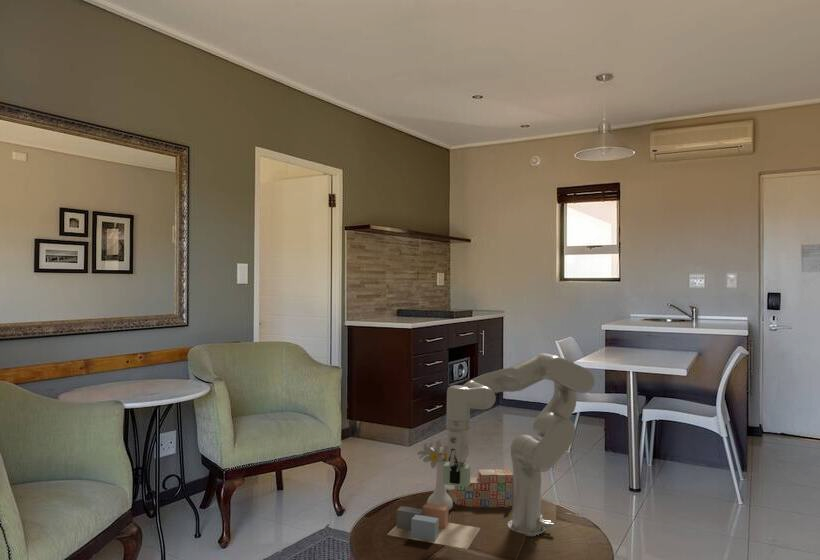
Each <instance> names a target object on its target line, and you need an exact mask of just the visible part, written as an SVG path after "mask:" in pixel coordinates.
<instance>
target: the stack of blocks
mask: <svg viewBox="0 0 820 560" xmlns="http://www.w3.org/2000/svg"><path fill="white" fill-rule="evenodd" d="M477 474H478V475H477V477H470V484H469V486H468V487H461V486H454V491H453V493H454V494H453V495H454V496H453V499H454V505H456V506H463V507H468V508H507V507H506V506H512V495H513V471H511V470H510V469H501V468H500V469H496V468H494V469H478V471H477ZM502 506H503V507H502ZM504 506H505V507H504Z"/></svg>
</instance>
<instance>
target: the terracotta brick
mask: <svg viewBox="0 0 820 560" xmlns="http://www.w3.org/2000/svg"><path fill="white" fill-rule="evenodd" d="M422 509H423V516H428V517H434V518H439V528H446V526H447V525H448V523H449V511H450V510H449V506H443V505H437V504H430V503H427V502H425V504H424V505H423V506H422Z"/></svg>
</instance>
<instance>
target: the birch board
mask: <svg viewBox="0 0 820 560" xmlns="http://www.w3.org/2000/svg"><path fill="white" fill-rule="evenodd" d="M480 530H481V527H476V526H471V525H465V524H460V523H458V524H457V523H452V522H448V525H447V526H446V528H439V537H438V538H437V539H436V541H435V542H433V541H428V540H422V539H416V538H411V530H405V529H399V528H397V524H396V525H395V526H394V527H393V528H392V529H391V530H390V531H389V532H388V533H387V534H386V535H387V536H392V537H398V538H402V539H409V540H413V541H414V540H415V541H420V542H425V543H431V544H436V545H442V546H447V547H453V548H460V549H465V550H469V547H470V545H472V543H473V541H474V540H475V537H477V535H478V533H479V531H480Z"/></svg>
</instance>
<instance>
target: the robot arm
mask: <svg viewBox="0 0 820 560" xmlns="http://www.w3.org/2000/svg"><path fill="white" fill-rule="evenodd" d="M544 380H548V381H552V382H553V386H554V387H553V388H554V390H553V391H554V392H553V395H552V397H551V398H550V400H549V401H548V403H547V404H546V405H545V407H543V409H542V410H541V412H540V413H539V414H538V415H537V417H535V419H534V421H533V423H532V430H533V432H534V434H535V435H537V437H539V438H541V439H539V438H537V437H534V436H532V435H529V434H519V435H517V436H516V437H515V438H514V439H512V442H511V445H510V458H511V462H512V463H511V465H512V474H513V495H512V507H511V508H512V509H511V520H510V519H509V521H507V527H508V528H509V529H510V530H511V531H513V532H515V533H519V534H524V535H525V537H537V536H536V535H538V536H540V535H539V534H541V533H543V532H544V531H545V532H546V529H550V530H554V529H555V523H554V522H552V520H550V519H549V520H548V519H545V518H543V514H541V511H542V509H541V507H542V506H541V505H542V473H546V472H549V471H550V470H551V469H553V467H555V466H556V464H557V463H558V462H559V460H560V459H561V458H562V457H563V455H564V454H565V453H566V451H567V450H568V449H569V447H571V445H573V442H574V440H575V437H576V436H575V435H576V427H575V424H574V423H573V422H572V420H570V418H571V416H572V415H573V413H574V412H575V410H576V407H577V393H579V394H586V393H589V392H590V391H591V390H592V389H593V387H594V386H595V376H594V374H593V372H592V371H590V369H588V368H586V367H583V366H582V365H579V364H577V363H575V362H573V361H570V360H568V359H565V358H563V357H561V356H558V355H555V354H549V353H545V352H544V353H542V352H541V353H538V354H536V355H533V356H531V357H529V358H526V359H525V360H523V361H520V362H518V363H516V364H514V365H511V366H509V367H507V368H502V369H498V370H494V371H490V372H486V373H483V374H481V375H479V376H476V377H474V378H472V379H469V380H467V382H465V383H463V385H458V384H454V385H450V386H448V387H447V390H446V418H445V420H446V421H445V423H446V425H445V427H446V428H445V429H446V430H447V431H448V432H447V433H448V435H447V445H448V446H447V459H448V461H450V464H449V465H450V483H454V484H459V483H460V471H459V464H464V460H465V459H466V460H467V458H468V457H469V453H470V451H469V448H470V447H469V446H470V445H469V443H470V442H469V441H470V440H469V430H470V423H471V422H470V421H471V420H470V417H471V415H470V413H471V409H473V410H475V409H476V410H488V409H490V408H492V407H493V406H494V404H495V403H496V400H497V399H496V394H495V393H503V392H504V393H506V392H507V393H508V392H509V393H510V392H511V393H513V392H520V391H522V390H525V389H527V388H529V387H531V386H533V385H535V384H537V383H539V382H542V381H544ZM455 463H457V466H456V464H455ZM545 532H544V533H545ZM544 533H543V534H544ZM541 535H542V534H541Z"/></svg>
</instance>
